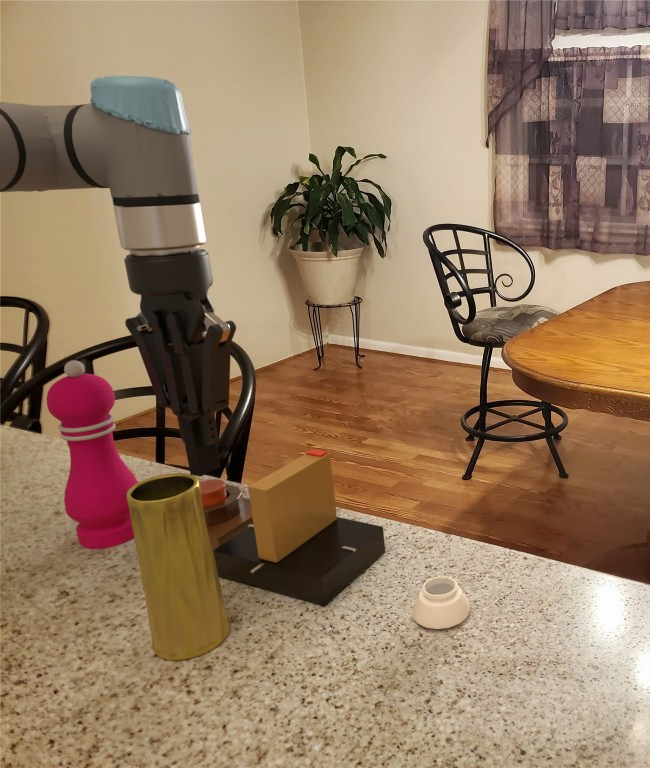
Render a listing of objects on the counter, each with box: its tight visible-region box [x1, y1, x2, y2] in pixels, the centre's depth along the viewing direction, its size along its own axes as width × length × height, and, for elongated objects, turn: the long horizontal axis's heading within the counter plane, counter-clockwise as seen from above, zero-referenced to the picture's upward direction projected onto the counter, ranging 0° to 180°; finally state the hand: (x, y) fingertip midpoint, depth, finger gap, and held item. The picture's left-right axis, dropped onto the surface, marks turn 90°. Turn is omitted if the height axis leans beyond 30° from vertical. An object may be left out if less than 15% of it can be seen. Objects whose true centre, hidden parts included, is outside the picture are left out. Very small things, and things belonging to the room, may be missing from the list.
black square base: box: [213, 506, 386, 607], centre depth 69 cm, size 13×13×3 cm
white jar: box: [412, 575, 471, 630], centre depth 60 cm, size 5×3×5 cm
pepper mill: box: [46, 359, 139, 550], centre depth 73 cm, size 7×7×20 cm
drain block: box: [203, 483, 254, 550], centre depth 76 cm, size 10×8×4 cm
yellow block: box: [247, 448, 338, 563], centre depth 67 cm, size 9×2×8 cm, turn 156°
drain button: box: [199, 478, 227, 507], centre depth 75 cm, size 4×4×2 cm
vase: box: [127, 472, 231, 661], centre depth 57 cm, size 6×6×14 cm
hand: (205, 470), depth 74 cm, fingers closed
